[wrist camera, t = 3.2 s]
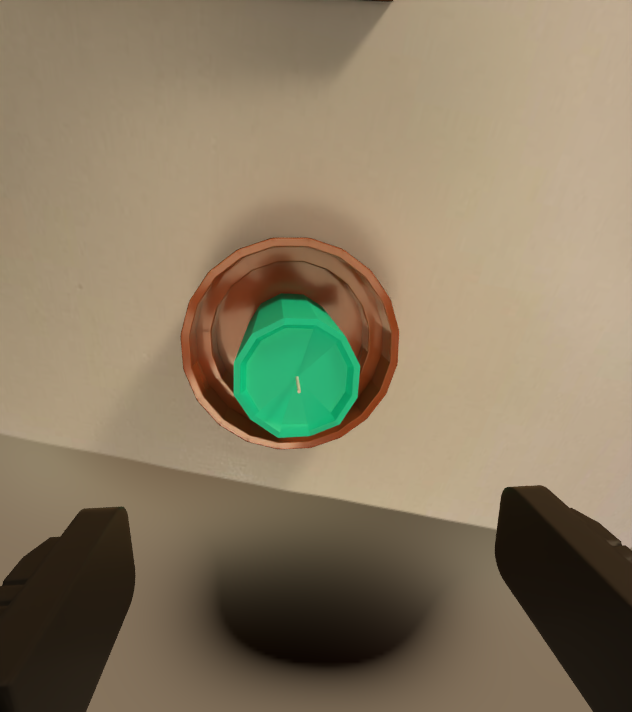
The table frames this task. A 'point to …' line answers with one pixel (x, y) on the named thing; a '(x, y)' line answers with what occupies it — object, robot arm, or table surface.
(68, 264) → the table surface
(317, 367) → the candle
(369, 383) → the bowl
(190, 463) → the table surface
